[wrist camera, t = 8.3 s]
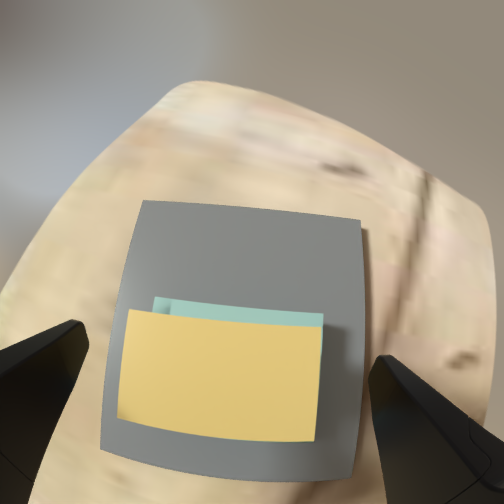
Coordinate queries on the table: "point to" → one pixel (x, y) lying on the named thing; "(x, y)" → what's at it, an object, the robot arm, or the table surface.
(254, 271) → the plate
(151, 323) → the block
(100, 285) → the table surface
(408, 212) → the table surface
